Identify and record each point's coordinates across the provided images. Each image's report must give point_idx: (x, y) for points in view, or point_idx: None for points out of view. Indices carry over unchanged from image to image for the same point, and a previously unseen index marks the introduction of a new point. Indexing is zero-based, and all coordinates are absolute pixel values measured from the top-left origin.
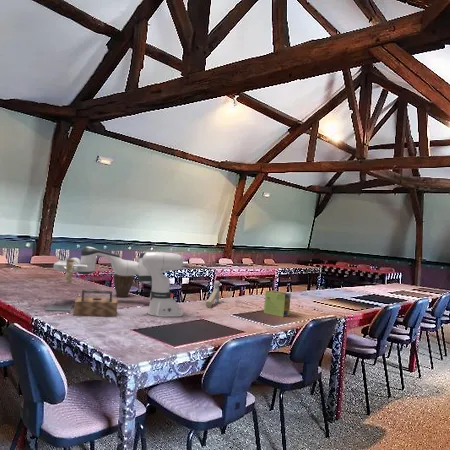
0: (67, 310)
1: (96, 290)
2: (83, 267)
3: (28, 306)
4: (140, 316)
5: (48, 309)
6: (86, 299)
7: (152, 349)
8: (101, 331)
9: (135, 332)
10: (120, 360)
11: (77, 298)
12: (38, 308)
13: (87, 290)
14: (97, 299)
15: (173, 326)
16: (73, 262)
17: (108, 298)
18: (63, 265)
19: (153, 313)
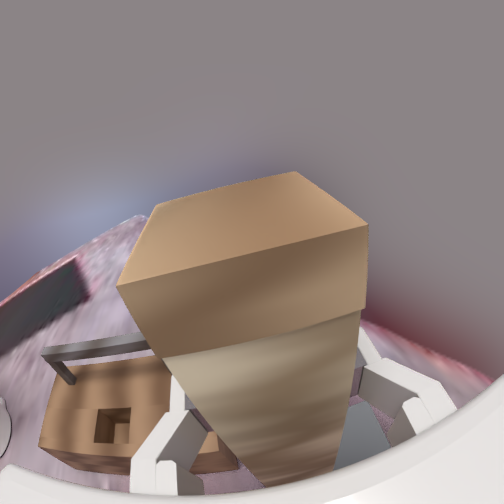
0: None
1: (95, 345)
2: (47, 478)
3: None
4: (33, 403)
5: (359, 411)
6: (160, 405)
7: (102, 243)
8: None
9: (92, 286)
10: (143, 217)
11: None
12: None
13: (134, 333)
14: (112, 445)
15: (22, 332)
16: (172, 371)
17: (66, 449)
18: (458, 411)
19: (4, 410)
